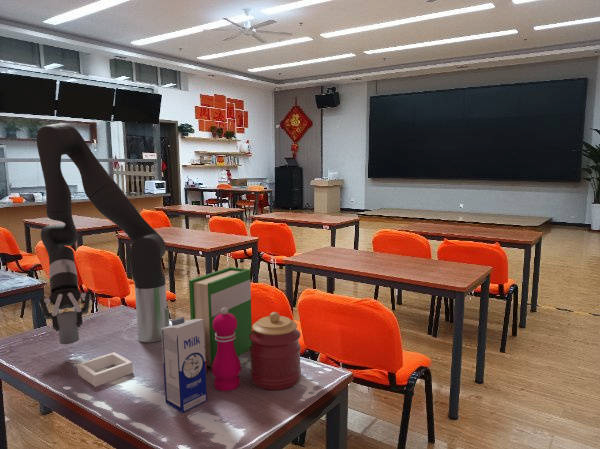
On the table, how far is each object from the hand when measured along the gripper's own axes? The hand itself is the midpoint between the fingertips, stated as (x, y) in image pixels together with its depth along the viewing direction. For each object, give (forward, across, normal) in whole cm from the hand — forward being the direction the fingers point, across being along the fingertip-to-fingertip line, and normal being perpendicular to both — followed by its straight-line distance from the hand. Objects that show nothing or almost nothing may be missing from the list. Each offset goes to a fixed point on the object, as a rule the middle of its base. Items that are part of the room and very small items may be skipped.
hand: (68, 327), depth 129 cm
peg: (+2, 0, +4) cm, 4 cm away
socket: (+18, +8, -5) cm, 20 cm away
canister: (+36, +46, -22) cm, 62 cm away
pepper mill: (+34, +34, -20) cm, 52 cm away
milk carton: (+36, +23, -22) cm, 48 cm away
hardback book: (+22, +39, -8) cm, 45 cm away
